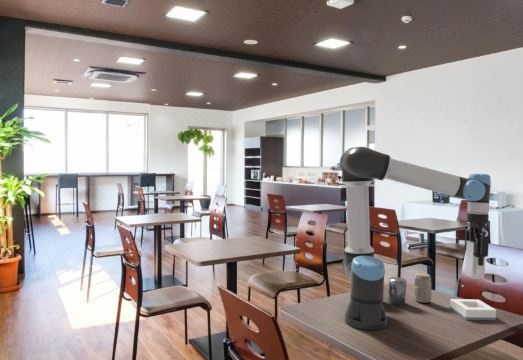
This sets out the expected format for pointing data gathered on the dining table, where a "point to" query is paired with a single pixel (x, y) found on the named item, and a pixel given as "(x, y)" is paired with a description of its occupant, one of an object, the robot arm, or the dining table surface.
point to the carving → (422, 287)
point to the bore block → (472, 309)
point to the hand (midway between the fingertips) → (474, 271)
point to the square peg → (472, 261)
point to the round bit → (397, 291)
